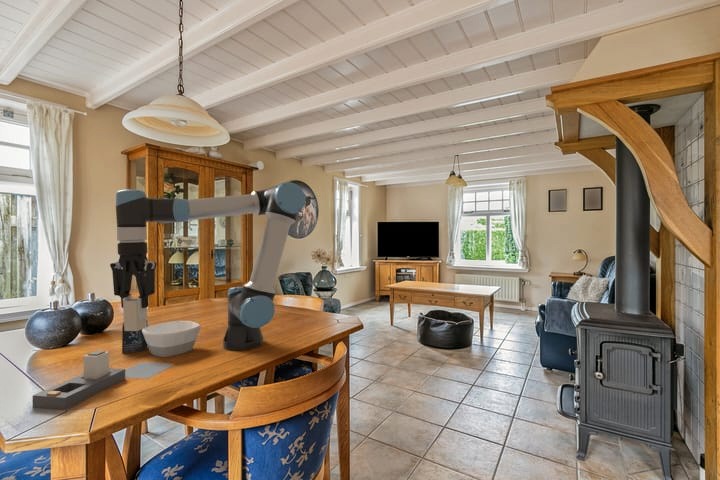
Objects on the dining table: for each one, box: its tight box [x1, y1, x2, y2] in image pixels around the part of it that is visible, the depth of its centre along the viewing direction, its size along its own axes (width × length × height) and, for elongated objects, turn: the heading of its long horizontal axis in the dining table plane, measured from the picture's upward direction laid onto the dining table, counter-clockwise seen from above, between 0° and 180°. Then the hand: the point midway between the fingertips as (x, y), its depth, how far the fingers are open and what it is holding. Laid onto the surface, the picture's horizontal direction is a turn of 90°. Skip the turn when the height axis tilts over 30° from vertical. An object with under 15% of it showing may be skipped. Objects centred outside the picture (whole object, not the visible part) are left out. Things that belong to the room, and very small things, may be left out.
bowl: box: [142, 320, 201, 358], centre depth 125 cm, size 18×18×9 cm
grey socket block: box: [32, 367, 126, 411], centre depth 92 cm, size 9×18×4 cm, turn 173°
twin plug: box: [123, 296, 147, 331], centre depth 103 cm, size 4×4×9 cm
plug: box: [83, 350, 110, 379], centre depth 96 cm, size 4×4×9 cm
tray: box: [125, 361, 175, 380], centre depth 107 cm, size 12×12×1 cm
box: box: [121, 319, 149, 354], centre depth 126 cm, size 8×6×11 cm
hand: (135, 318), depth 103 cm, fingers closed on twin plug, 4 cm apart
